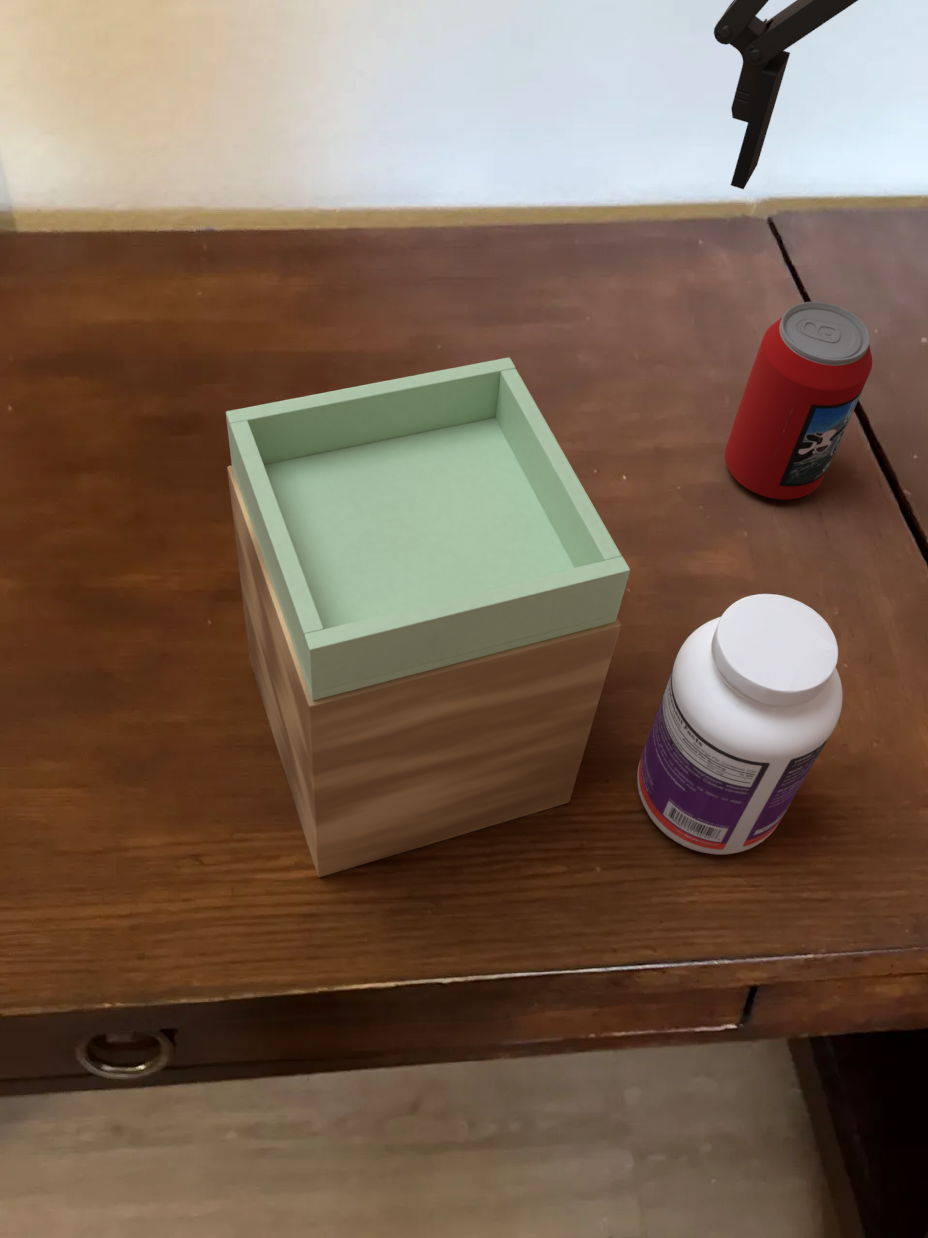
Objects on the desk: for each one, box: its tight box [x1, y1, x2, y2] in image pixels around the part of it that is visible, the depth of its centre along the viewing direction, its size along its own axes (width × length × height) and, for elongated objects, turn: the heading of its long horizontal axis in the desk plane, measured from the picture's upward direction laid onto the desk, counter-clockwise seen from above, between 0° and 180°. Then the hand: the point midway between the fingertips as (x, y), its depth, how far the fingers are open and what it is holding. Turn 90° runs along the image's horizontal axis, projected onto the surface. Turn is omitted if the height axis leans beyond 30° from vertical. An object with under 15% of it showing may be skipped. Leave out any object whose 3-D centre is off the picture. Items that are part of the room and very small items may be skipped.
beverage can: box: [724, 301, 873, 500], centre depth 77 cm, size 7×7×12 cm
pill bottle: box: [636, 593, 844, 855], centre depth 60 cm, size 8×8×14 cm
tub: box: [225, 357, 631, 700], centre depth 53 cm, size 14×14×4 cm
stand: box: [226, 465, 622, 878], centre depth 61 cm, size 14×14×16 cm
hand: (862, 213), depth 66 cm, fingers open, 13 cm apart
